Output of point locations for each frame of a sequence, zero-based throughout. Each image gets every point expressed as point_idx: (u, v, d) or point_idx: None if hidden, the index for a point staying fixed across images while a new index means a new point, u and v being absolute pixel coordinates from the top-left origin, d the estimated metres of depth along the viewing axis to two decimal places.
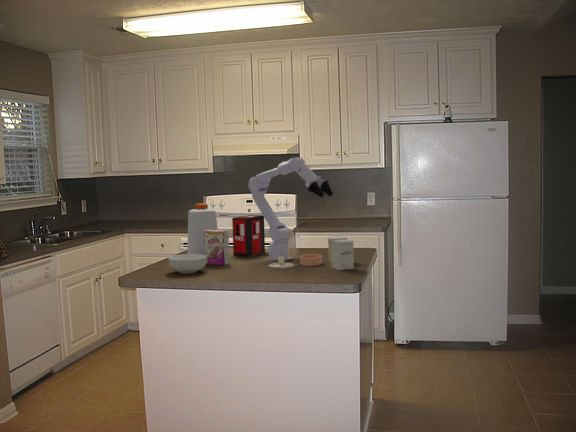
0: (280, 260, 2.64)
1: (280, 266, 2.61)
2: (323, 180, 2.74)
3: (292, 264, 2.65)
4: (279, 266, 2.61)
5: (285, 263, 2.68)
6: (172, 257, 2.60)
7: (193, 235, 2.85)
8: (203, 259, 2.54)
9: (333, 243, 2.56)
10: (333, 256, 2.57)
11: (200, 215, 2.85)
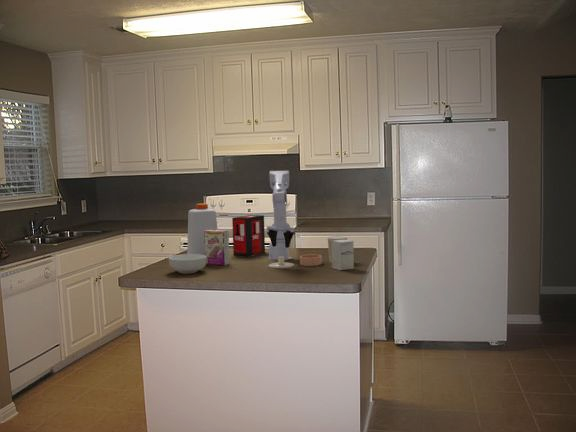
0: (280, 260, 2.64)
1: (280, 266, 2.61)
2: (290, 228, 2.59)
3: (292, 264, 2.65)
4: (279, 266, 2.61)
5: (285, 263, 2.68)
6: (172, 257, 2.60)
7: (193, 235, 2.85)
8: (203, 259, 2.54)
9: (333, 243, 2.56)
10: (333, 256, 2.57)
11: (200, 215, 2.85)
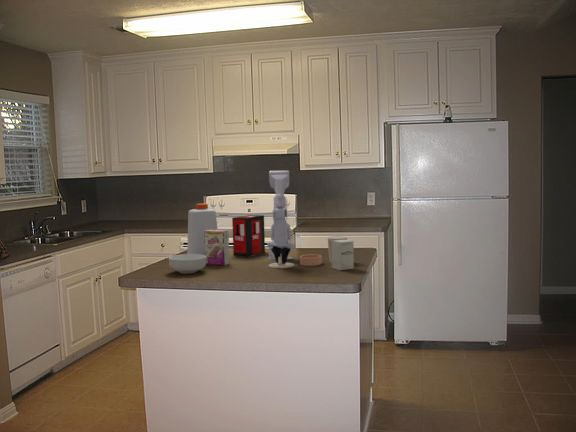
0: (280, 260, 2.64)
1: (280, 266, 2.61)
2: (290, 245, 2.60)
3: (292, 264, 2.65)
4: (279, 266, 2.61)
5: (285, 263, 2.68)
6: (172, 257, 2.60)
7: (193, 235, 2.85)
8: (203, 259, 2.54)
9: (333, 243, 2.56)
10: (333, 256, 2.57)
11: (200, 215, 2.85)
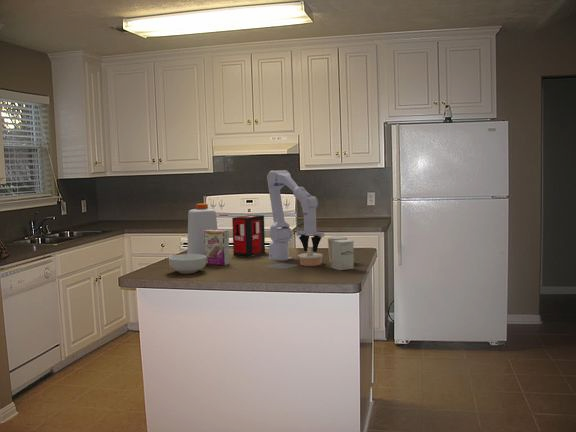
0: (309, 250, 2.67)
1: (309, 256, 2.64)
2: (320, 233, 2.63)
3: (321, 254, 2.68)
4: (308, 256, 2.64)
5: (314, 254, 2.71)
6: (172, 257, 2.60)
7: (193, 235, 2.85)
8: (203, 259, 2.54)
9: (333, 243, 2.56)
10: (333, 256, 2.57)
11: (200, 215, 2.85)
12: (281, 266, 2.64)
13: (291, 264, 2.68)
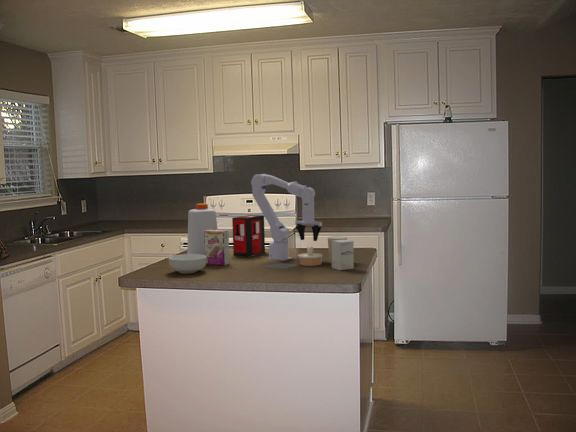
0: (309, 250, 2.67)
1: (309, 256, 2.64)
2: (318, 222, 2.74)
3: (321, 254, 2.68)
4: (308, 256, 2.64)
5: (314, 254, 2.71)
6: (172, 257, 2.60)
7: (193, 235, 2.85)
8: (203, 259, 2.54)
9: (333, 243, 2.56)
10: (333, 256, 2.57)
11: (200, 215, 2.85)
12: (281, 266, 2.64)
13: (291, 264, 2.68)
